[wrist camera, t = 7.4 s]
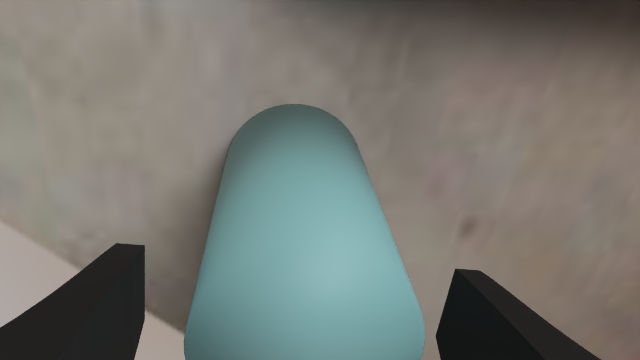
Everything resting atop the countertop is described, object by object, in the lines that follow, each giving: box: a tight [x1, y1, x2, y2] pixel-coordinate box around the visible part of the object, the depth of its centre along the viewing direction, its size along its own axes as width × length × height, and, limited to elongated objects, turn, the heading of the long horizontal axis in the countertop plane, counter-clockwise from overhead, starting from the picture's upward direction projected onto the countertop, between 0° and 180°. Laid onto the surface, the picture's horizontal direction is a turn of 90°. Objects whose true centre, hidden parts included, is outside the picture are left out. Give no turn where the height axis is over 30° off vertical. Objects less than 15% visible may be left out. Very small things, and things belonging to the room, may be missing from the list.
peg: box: [184, 104, 425, 360], centre depth 14 cm, size 5×5×9 cm
